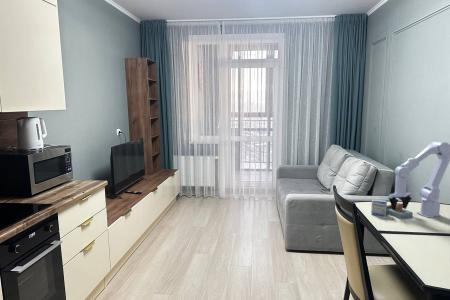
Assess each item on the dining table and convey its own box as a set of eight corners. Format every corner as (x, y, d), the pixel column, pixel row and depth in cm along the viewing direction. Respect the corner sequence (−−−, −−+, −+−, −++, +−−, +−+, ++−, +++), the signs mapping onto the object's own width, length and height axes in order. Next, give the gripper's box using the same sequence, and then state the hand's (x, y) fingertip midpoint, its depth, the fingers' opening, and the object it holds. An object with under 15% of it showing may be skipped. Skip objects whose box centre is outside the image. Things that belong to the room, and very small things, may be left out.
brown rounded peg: (398, 212, 192) (399, 202, 192) (403, 214, 189) (404, 204, 188) (394, 213, 191) (394, 203, 191) (398, 214, 188) (399, 205, 187)
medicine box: (371, 214, 191) (372, 200, 189) (370, 212, 195) (371, 198, 194) (386, 216, 188) (386, 202, 187) (385, 213, 192) (386, 200, 191)
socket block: (399, 211, 196) (399, 207, 196) (412, 216, 187) (412, 212, 186) (385, 212, 194) (385, 208, 193) (398, 218, 184) (398, 214, 184)
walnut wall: (397, 209, 200) (397, 202, 200) (401, 210, 197) (402, 204, 196) (378, 211, 197) (378, 204, 196) (382, 213, 193) (383, 206, 193)
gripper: (395, 189, 182) (394, 212, 184) (416, 187, 186) (414, 209, 188) (386, 186, 189) (385, 208, 191) (406, 184, 193) (405, 206, 195)
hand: (399, 209), depth 190 cm, fingers open, 7 cm apart
